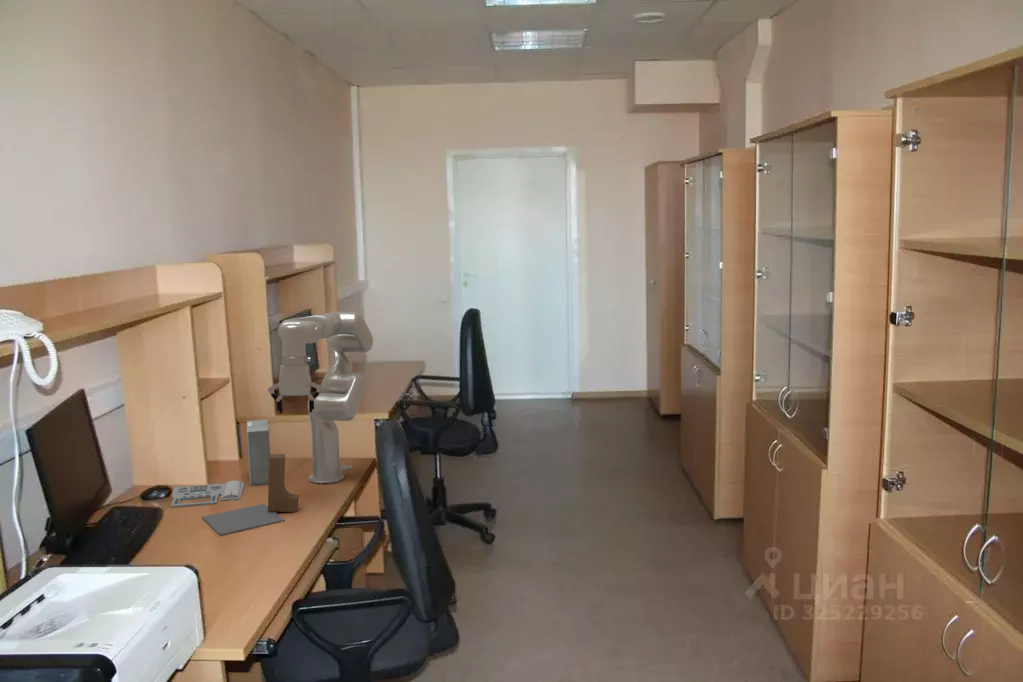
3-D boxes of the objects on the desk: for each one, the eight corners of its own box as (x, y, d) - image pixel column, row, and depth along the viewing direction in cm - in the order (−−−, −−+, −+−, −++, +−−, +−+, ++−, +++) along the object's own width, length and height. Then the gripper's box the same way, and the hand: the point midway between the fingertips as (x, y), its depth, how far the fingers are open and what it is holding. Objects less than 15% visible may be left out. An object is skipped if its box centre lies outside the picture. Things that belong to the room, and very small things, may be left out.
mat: (264, 505, 269) (264, 503, 269) (284, 521, 255) (284, 519, 255) (202, 518, 257) (201, 516, 257) (220, 536, 243) (220, 534, 243)
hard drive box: (249, 472, 302) (247, 420, 299) (271, 471, 305) (268, 419, 302) (249, 486, 288) (246, 431, 285) (272, 483, 290) (269, 429, 287)
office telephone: (244, 478, 291) (241, 496, 272) (244, 485, 291) (241, 504, 272) (174, 483, 284) (166, 502, 265) (174, 490, 285) (167, 509, 266)
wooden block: (298, 507, 266) (299, 453, 264) (296, 512, 262) (297, 457, 260) (269, 507, 265) (270, 453, 263) (267, 512, 261) (268, 457, 258)
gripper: (321, 358, 273) (323, 408, 275) (268, 360, 270) (270, 410, 272) (320, 362, 265) (322, 413, 268) (265, 363, 262) (267, 415, 265)
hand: (296, 412), depth 270 cm, fingers open, 9 cm apart
